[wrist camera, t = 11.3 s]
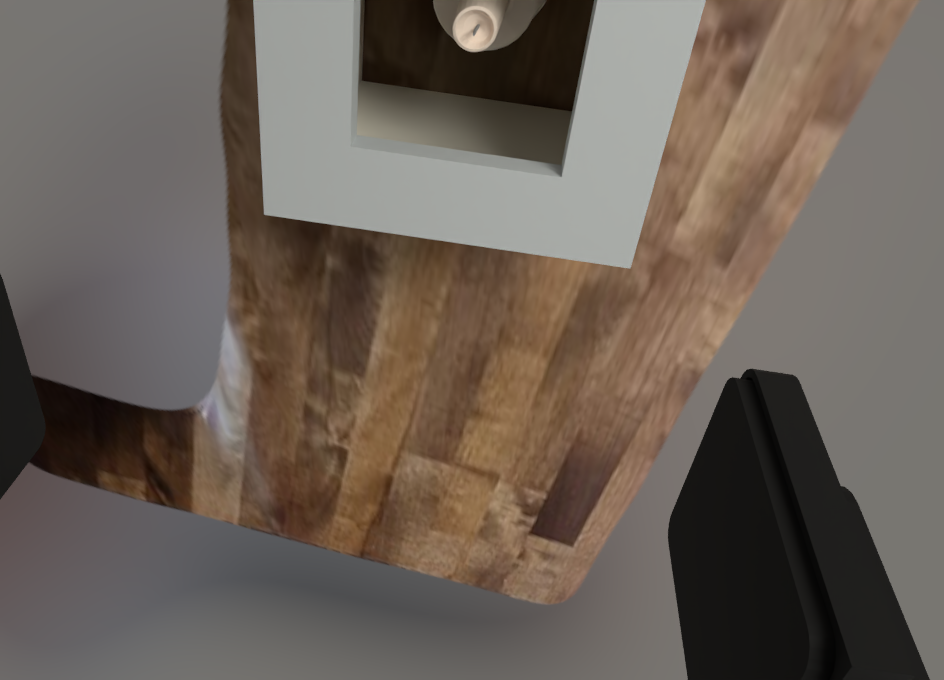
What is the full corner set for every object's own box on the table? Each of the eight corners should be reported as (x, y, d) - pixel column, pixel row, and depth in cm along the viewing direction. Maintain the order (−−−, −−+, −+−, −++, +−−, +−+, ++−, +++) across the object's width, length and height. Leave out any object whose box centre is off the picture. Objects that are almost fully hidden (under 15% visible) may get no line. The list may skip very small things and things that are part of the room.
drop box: (345, -241, 29) (240, -248, 19) (688, -191, 29) (754, -172, 19) (340, 98, 37) (264, 214, 27) (610, 138, 37) (630, 268, 27)
